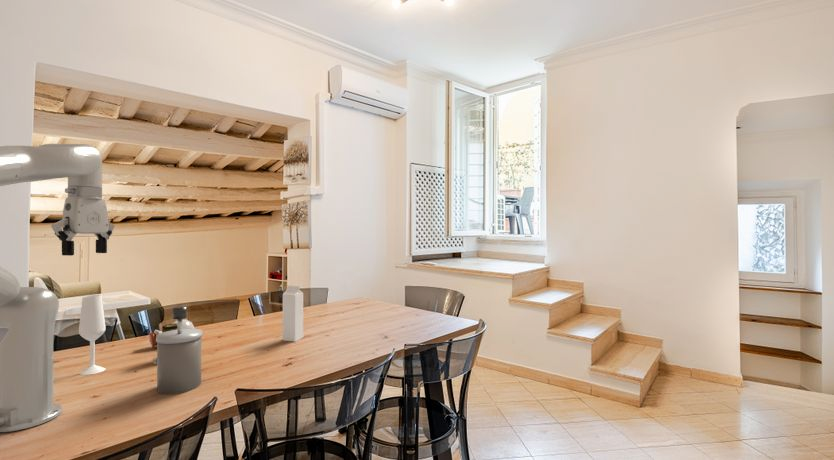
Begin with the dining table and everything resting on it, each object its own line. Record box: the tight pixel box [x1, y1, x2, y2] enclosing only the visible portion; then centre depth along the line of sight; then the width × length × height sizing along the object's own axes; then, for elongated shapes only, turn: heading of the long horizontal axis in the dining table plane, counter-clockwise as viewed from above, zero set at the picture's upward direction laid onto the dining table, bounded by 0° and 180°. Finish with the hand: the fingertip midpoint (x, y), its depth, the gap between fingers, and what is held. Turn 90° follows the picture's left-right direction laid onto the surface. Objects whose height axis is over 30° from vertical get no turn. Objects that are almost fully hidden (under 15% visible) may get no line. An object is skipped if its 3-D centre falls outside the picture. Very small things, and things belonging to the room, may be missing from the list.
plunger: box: [172, 305, 188, 334], centre depth 116 cm, size 4×4×8 cm
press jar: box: [156, 328, 204, 395], centre depth 116 cm, size 13×12×15 cm
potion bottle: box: [148, 318, 196, 349], centre depth 156 cm, size 9×10×15 cm
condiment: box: [153, 323, 177, 365], centre depth 139 cm, size 7×8×12 cm
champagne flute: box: [78, 294, 106, 376], centre depth 127 cm, size 7×7×24 cm
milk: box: [282, 285, 304, 342], centre depth 165 cm, size 6×6×22 cm
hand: (85, 254), depth 113 cm, fingers open, 9 cm apart
